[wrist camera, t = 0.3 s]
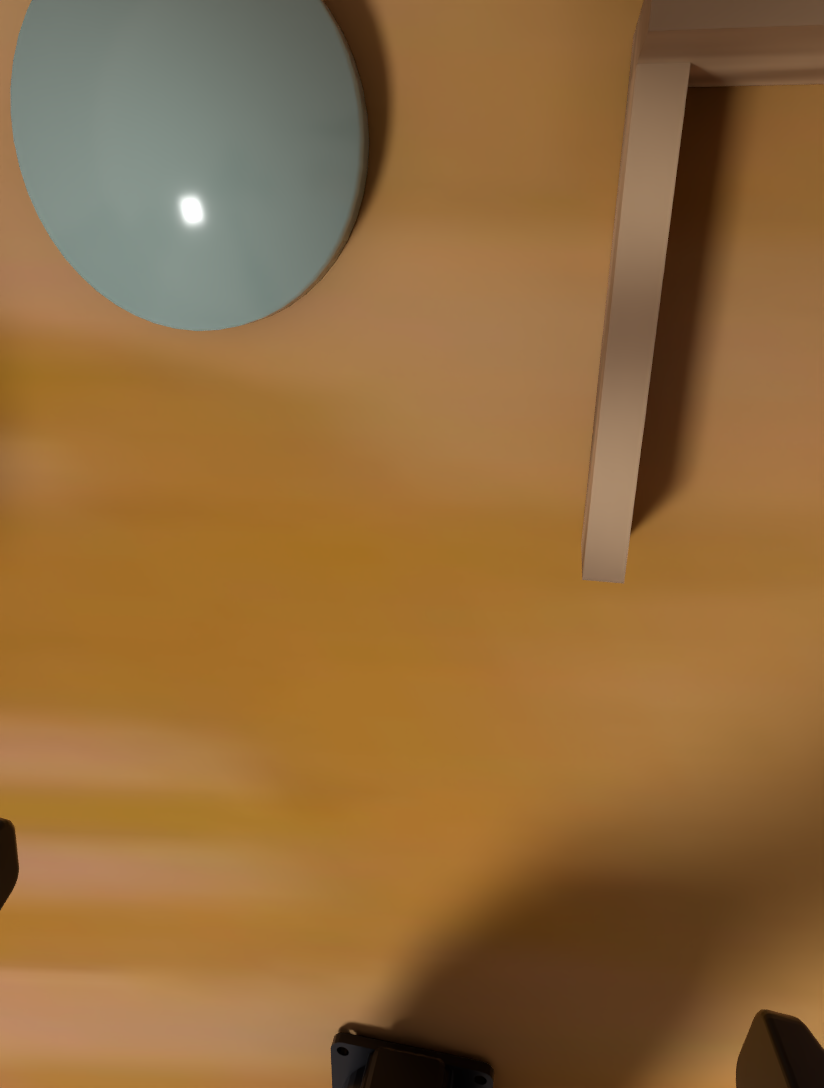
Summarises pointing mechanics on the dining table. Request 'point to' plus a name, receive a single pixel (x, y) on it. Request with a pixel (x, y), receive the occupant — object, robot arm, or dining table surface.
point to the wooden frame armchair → (668, 215)
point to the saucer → (191, 149)
